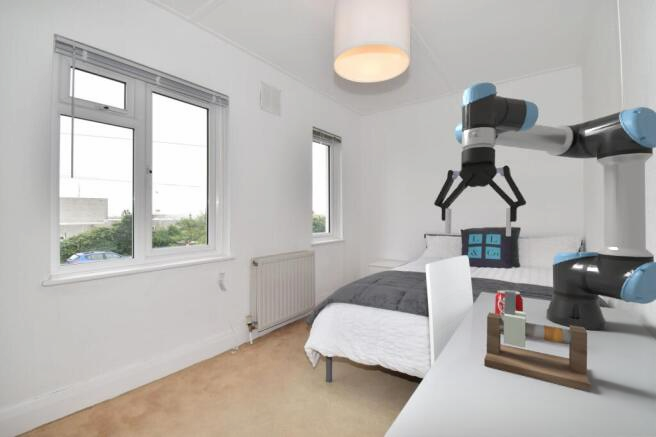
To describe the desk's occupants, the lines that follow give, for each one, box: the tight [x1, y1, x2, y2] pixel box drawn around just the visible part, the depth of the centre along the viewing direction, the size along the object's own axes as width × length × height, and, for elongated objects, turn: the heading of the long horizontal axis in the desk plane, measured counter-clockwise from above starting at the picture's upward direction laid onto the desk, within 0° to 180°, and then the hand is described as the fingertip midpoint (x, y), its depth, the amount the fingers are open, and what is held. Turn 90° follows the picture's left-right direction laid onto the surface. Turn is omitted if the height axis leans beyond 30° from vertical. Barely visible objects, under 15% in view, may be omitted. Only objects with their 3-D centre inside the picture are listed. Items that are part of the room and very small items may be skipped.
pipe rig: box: [483, 312, 591, 393], centre depth 69 cm, size 12×18×10 cm, turn 56°
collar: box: [503, 289, 527, 349], centre depth 71 cm, size 6×4×11 cm, turn 146°
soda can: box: [494, 289, 524, 335], centre depth 90 cm, size 7×7×12 cm
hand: (476, 235), depth 76 cm, fingers open, 13 cm apart
